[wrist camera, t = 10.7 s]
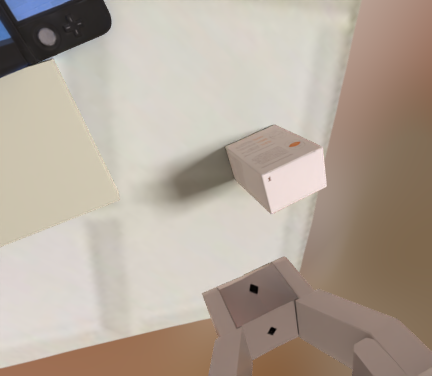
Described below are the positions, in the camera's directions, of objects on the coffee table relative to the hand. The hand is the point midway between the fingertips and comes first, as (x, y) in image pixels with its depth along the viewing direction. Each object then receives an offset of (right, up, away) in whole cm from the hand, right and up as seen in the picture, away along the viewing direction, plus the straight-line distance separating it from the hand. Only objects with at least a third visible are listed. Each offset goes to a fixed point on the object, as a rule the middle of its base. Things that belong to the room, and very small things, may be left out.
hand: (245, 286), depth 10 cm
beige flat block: (-24, +6, +22) cm, 33 cm away
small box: (+4, +8, +33) cm, 34 cm away
